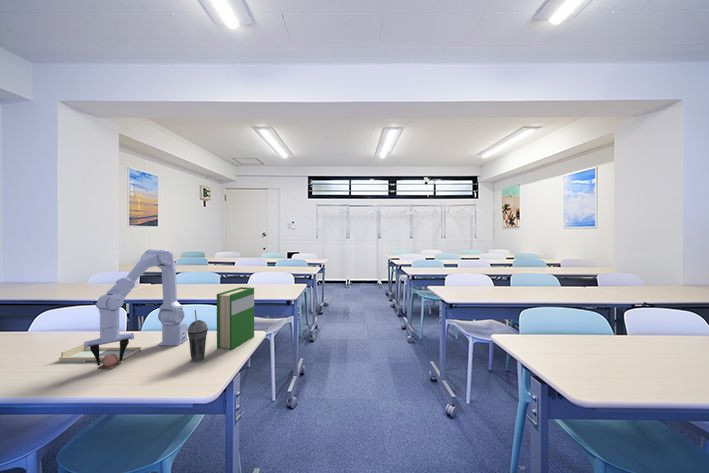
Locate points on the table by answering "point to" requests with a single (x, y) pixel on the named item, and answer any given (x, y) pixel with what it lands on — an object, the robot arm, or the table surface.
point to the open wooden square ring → (110, 366)
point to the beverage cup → (197, 339)
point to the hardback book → (235, 317)
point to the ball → (109, 360)
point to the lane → (86, 355)
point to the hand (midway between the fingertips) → (110, 362)
